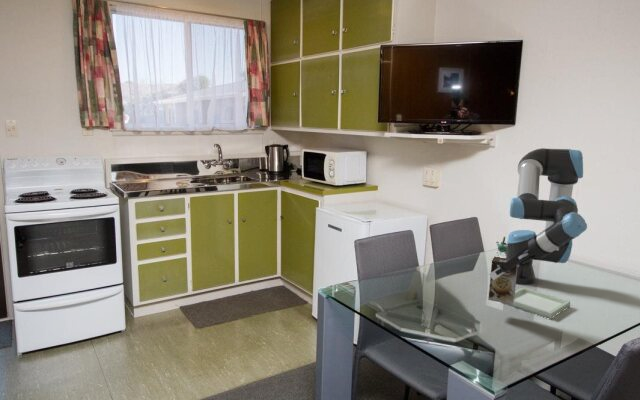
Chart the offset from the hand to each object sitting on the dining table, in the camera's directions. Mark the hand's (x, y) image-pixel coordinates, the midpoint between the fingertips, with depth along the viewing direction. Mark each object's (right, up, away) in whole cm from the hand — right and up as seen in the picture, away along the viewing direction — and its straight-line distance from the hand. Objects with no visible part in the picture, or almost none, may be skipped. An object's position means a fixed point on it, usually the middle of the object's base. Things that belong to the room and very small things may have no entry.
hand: (498, 274), depth 178 cm
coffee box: (+1, -10, 0) cm, 10 cm away
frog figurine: (+29, -4, +68) cm, 74 cm away
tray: (+20, -15, +12) cm, 28 cm away
